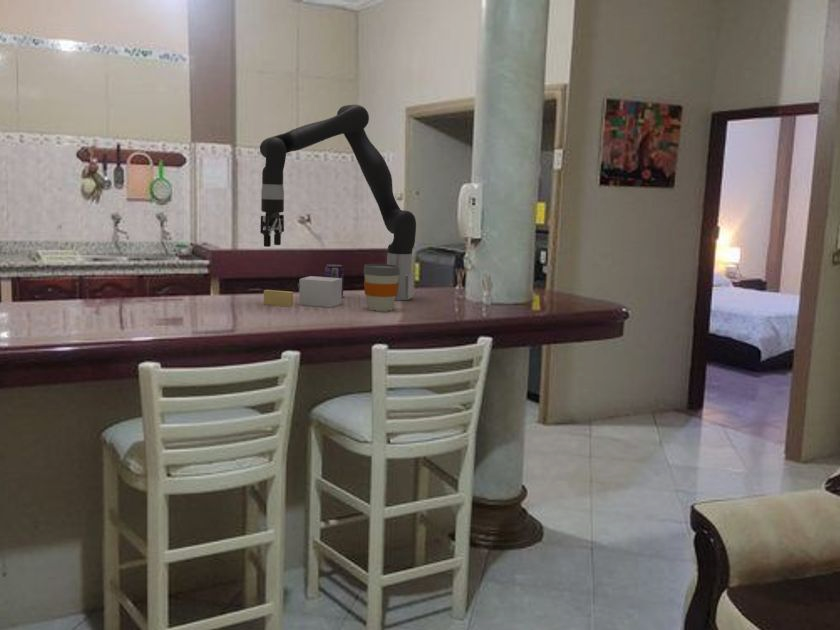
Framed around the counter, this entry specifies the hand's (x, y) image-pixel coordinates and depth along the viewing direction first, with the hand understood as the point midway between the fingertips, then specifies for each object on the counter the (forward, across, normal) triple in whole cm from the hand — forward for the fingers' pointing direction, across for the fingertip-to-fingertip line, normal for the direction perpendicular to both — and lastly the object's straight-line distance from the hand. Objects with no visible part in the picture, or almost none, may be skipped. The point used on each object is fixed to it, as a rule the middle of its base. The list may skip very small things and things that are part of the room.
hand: (272, 245), depth 270 cm
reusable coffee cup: (+21, +8, -37) cm, 43 cm away
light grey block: (+20, +8, -15) cm, 26 cm away
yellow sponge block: (+20, -1, -3) cm, 21 cm away
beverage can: (+21, +27, -13) cm, 36 cm away
